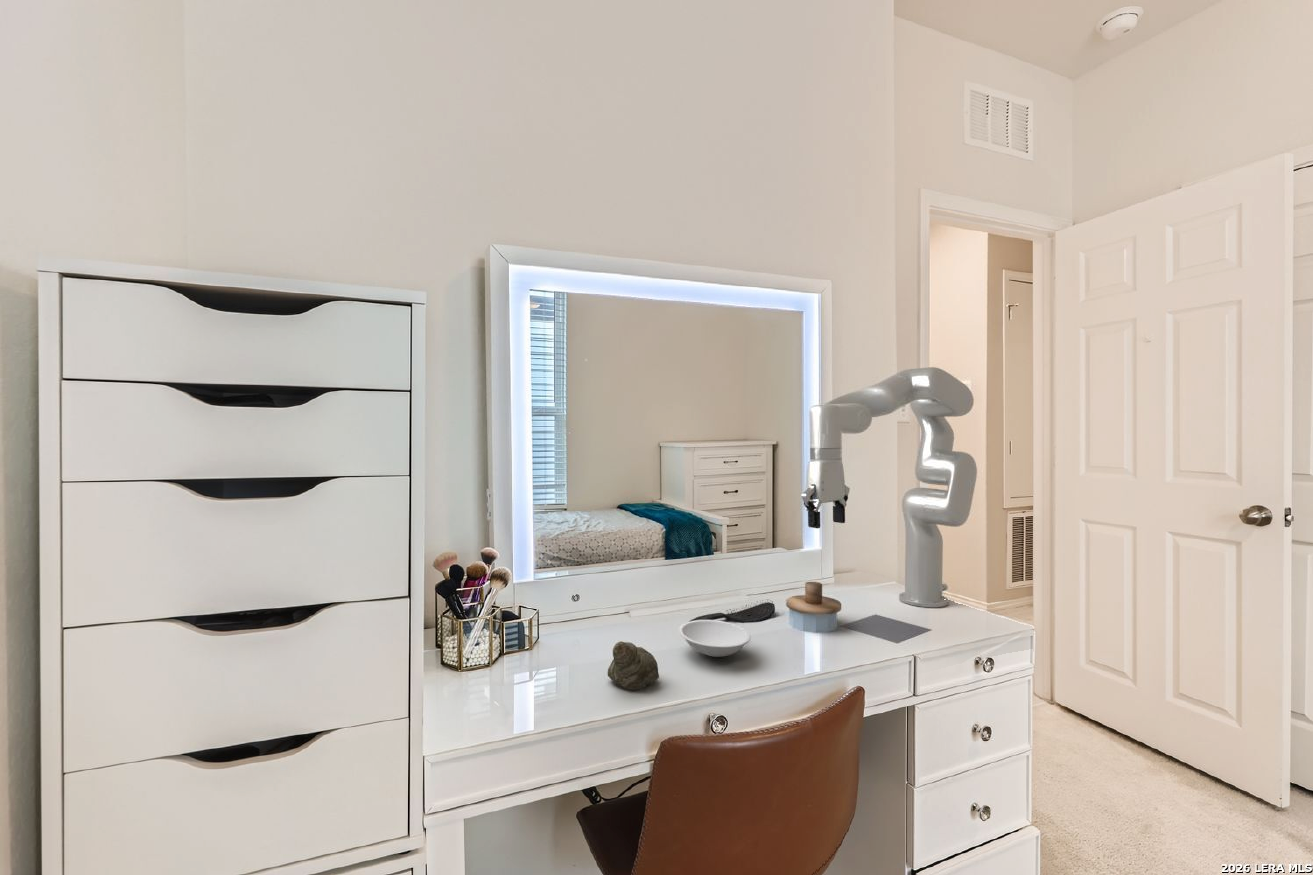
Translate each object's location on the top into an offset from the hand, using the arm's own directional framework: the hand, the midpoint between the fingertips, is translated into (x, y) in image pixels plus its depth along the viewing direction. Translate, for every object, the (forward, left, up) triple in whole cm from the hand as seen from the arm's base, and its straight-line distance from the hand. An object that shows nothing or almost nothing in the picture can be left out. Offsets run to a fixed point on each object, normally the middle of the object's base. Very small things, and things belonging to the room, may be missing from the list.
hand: (826, 524), depth 152 cm
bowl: (+4, -1, -25) cm, 25 cm away
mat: (-8, +11, -25) cm, 28 cm away
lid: (+4, -1, -20) cm, 20 cm away
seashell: (+56, -1, -25) cm, 61 cm away
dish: (+36, -2, -25) cm, 44 cm away
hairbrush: (+16, -17, -25) cm, 34 cm away
